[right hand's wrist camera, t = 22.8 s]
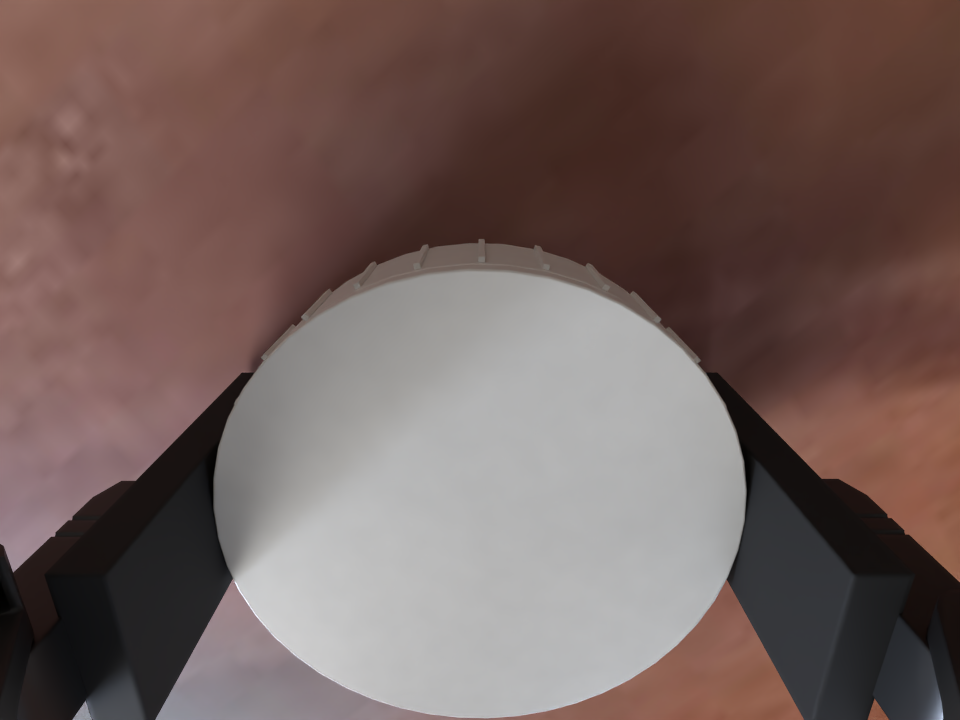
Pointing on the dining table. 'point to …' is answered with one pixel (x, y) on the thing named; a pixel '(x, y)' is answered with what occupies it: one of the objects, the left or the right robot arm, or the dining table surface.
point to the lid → (479, 484)
